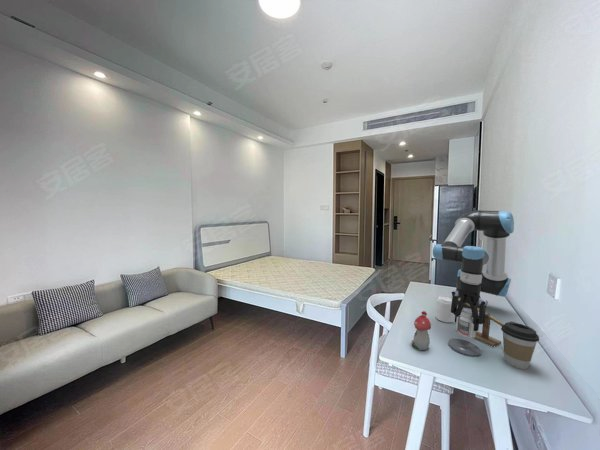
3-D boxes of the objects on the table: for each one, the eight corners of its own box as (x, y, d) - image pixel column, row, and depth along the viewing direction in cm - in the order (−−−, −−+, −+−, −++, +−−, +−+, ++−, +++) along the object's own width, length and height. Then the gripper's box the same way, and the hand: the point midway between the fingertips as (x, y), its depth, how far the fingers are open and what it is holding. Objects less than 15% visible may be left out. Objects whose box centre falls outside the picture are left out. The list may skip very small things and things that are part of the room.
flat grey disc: (457, 338, 115) (458, 336, 115) (486, 352, 104) (486, 349, 104) (442, 344, 109) (442, 341, 109) (470, 359, 99) (471, 356, 99)
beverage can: (455, 324, 129) (457, 302, 128) (438, 322, 131) (440, 300, 130) (449, 317, 137) (450, 297, 136) (433, 315, 139) (435, 295, 138)
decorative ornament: (419, 339, 112) (421, 308, 111) (433, 346, 107) (436, 314, 106) (407, 345, 107) (410, 313, 106) (422, 353, 101) (425, 319, 100)
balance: (460, 325, 127) (463, 297, 126) (523, 353, 104) (527, 318, 103) (452, 328, 124) (455, 298, 123) (515, 357, 101) (519, 321, 100)
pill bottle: (466, 331, 109) (468, 310, 108) (475, 337, 104) (478, 315, 103) (455, 331, 109) (457, 310, 108) (463, 337, 103) (466, 315, 103)
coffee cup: (536, 364, 97) (540, 328, 96) (535, 377, 89) (539, 338, 88) (499, 351, 105) (503, 318, 104) (495, 362, 97) (499, 326, 96)
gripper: (444, 277, 111) (439, 325, 113) (490, 290, 94) (484, 346, 96) (453, 275, 114) (449, 322, 116) (499, 287, 98) (494, 342, 100)
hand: (465, 333), depth 106 cm, fingers closed on pill bottle, 5 cm apart
